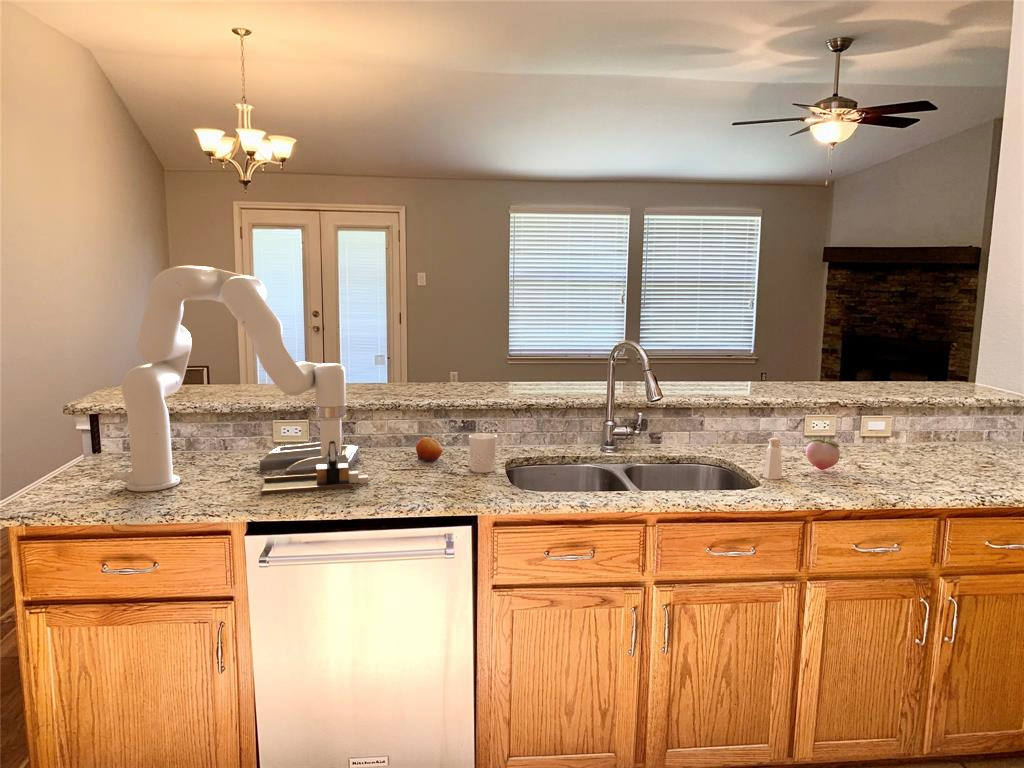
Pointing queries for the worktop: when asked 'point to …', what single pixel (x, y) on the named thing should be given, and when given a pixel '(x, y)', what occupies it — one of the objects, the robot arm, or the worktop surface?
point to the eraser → (342, 474)
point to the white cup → (482, 452)
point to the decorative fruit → (822, 453)
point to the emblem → (304, 458)
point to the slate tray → (296, 484)
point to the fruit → (428, 449)
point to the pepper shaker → (773, 460)
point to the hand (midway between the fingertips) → (332, 479)
